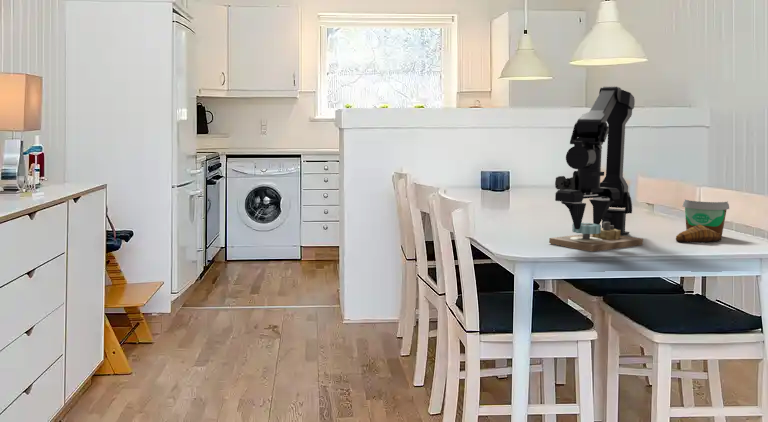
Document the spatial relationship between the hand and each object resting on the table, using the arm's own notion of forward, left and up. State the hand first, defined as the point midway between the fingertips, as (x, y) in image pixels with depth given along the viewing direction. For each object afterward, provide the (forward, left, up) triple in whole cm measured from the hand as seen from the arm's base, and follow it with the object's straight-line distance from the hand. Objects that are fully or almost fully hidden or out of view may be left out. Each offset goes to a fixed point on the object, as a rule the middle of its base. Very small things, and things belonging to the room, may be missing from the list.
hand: (586, 228), depth 198 cm
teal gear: (0, 0, -1) cm, 1 cm away
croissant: (-32, +12, -5) cm, 34 cm away
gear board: (-4, 0, -4) cm, 6 cm away
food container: (-42, +7, -5) cm, 43 cm away
